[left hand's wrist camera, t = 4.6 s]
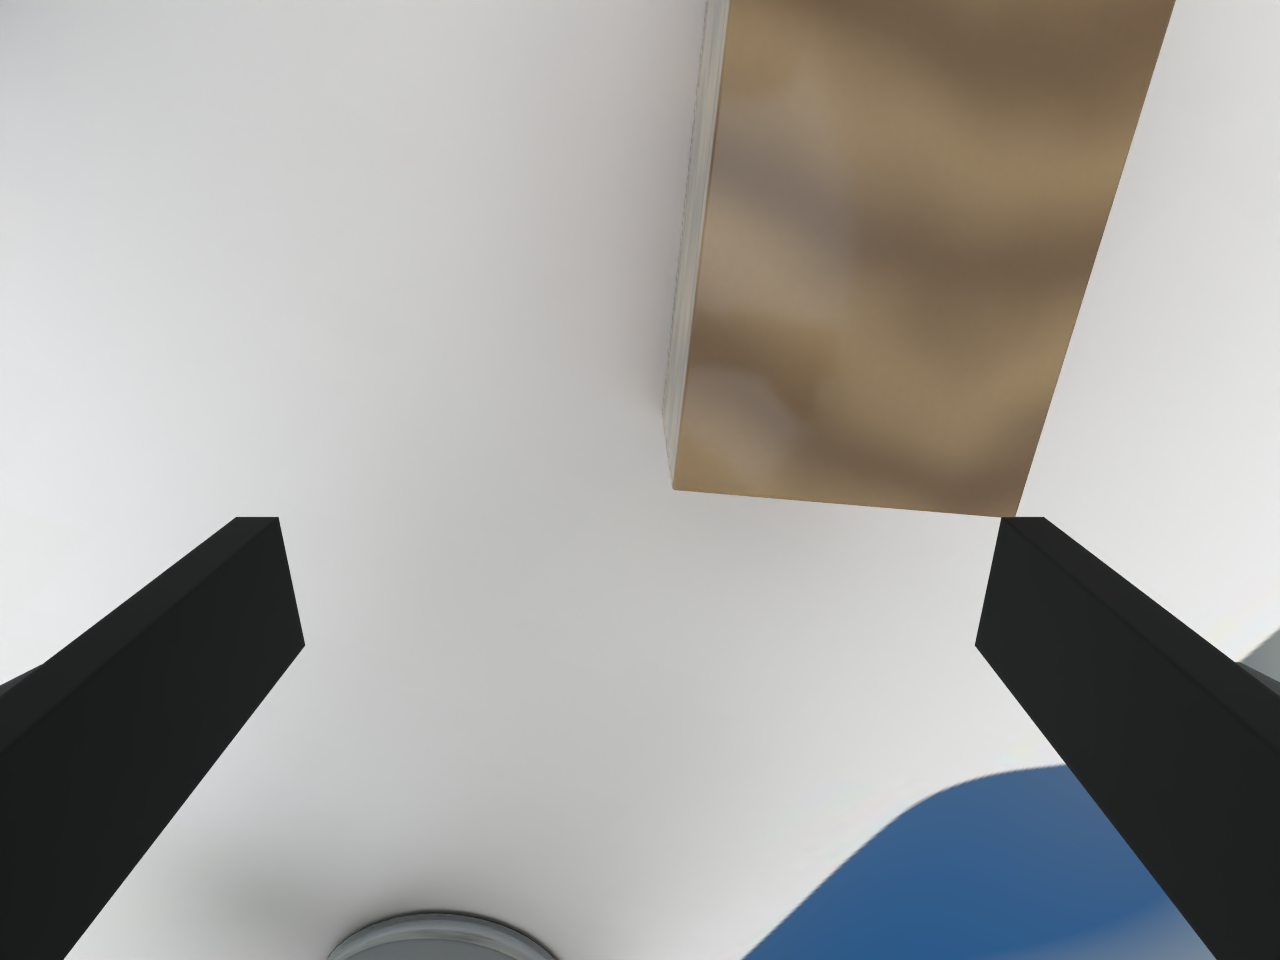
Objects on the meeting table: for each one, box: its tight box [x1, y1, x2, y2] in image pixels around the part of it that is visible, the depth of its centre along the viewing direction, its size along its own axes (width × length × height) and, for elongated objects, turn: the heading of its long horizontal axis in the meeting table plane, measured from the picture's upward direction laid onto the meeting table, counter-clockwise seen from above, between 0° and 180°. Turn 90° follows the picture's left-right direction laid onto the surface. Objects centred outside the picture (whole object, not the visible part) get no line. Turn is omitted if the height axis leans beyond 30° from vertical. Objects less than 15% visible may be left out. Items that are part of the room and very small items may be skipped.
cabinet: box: [662, 0, 1176, 517], centre depth 22 cm, size 16×10×8 cm, turn 175°
